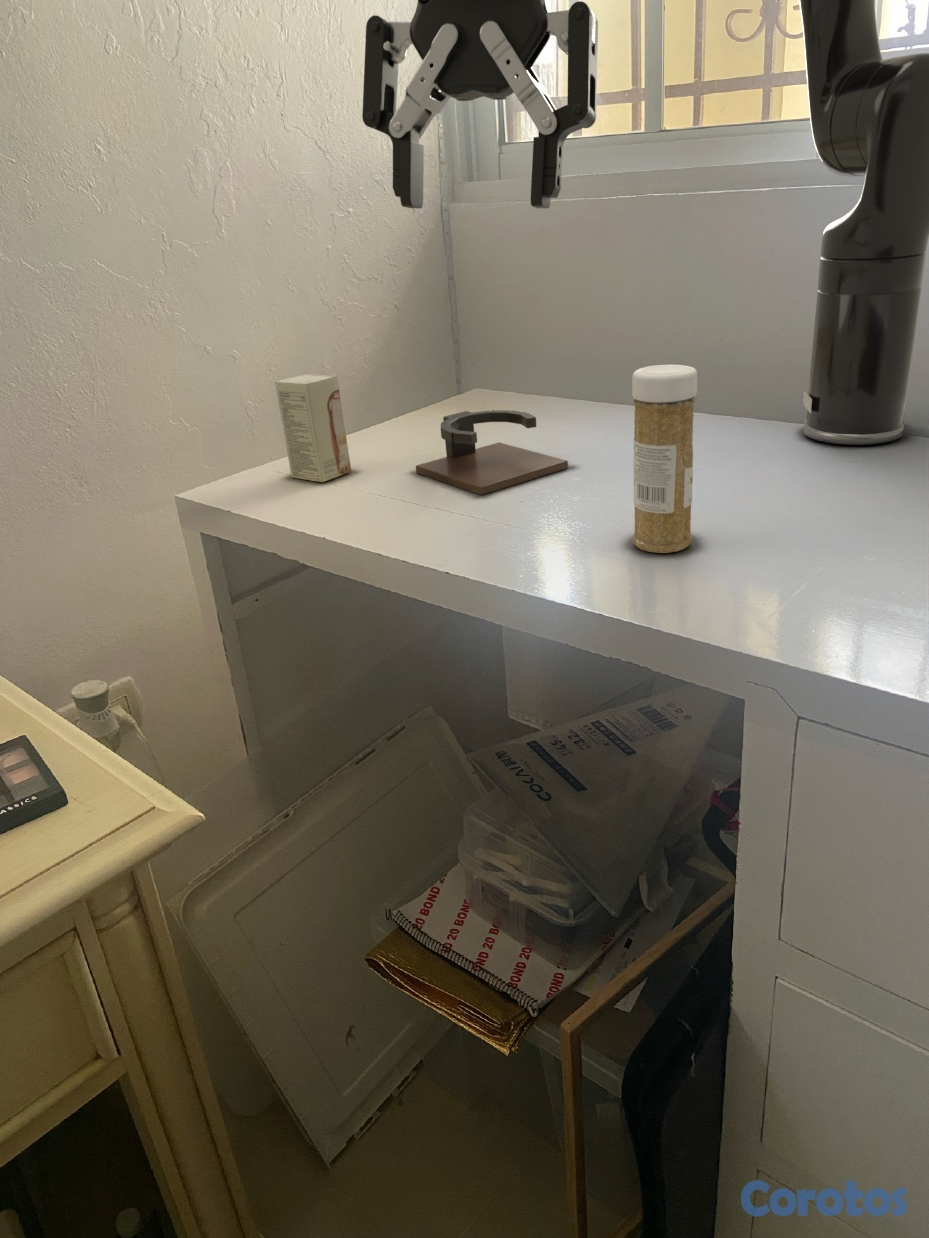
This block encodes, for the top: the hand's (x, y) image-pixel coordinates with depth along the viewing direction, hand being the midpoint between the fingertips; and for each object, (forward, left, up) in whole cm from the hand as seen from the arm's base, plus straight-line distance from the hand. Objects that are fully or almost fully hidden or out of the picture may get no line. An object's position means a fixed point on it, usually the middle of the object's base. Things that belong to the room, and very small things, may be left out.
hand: (474, 207), depth 57 cm
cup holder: (-19, -18, -25) cm, 36 cm away
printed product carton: (-9, -33, -25) cm, 43 cm away
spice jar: (-11, +7, -25) cm, 29 cm away
